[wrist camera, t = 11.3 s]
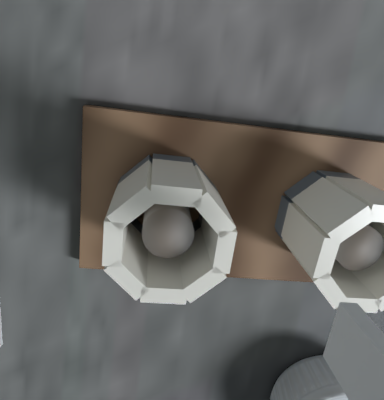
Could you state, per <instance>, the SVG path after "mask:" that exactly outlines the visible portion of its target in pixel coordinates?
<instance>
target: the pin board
mask: <svg viewBox="0 0 384 400" xmlns="http://www.w3.org/2000/svg"><path fill="white" fill-rule="evenodd" d="M153 153H154V154H163V155H172V156H182V157H190V158H191V160H195V161H196V163H197V164H198V165H199V166H200V168H201V169H202V170H203V171H204V173H205V174H206V175H207V176H208V178H209V179H210V180H211V181H212V183H213V184H214V185H215V187H216V188H217V190H218V192H219V194H220V196H221V198H222V200H223V202H224V204H225V206H226V208H227V210H228V212H229V214H230V216H231V218H232V220H233V222H234V224H235V226H236V230H237V237H236V242H235V247H234V253H233V258H232V263H231V268H230V273H229V274H226V277H236V278H252V279H268V280H284V281H300V282H313V281H312V279H311V278H310V276H309V275H308V274H307V272H306V271H305V270H304V268H303V267H302V266H301V264H300V263H299V262H298V260H297V259H296V258H295V256H294V255H293V254H292V252H291V251H290V250H289V248H288V247H287V246H286V244H285V243H284V242H283V240H282V239H281V238H280V236H279V235H278V234H277V232H276V231H275V230H276V229H275V227H274V226H275V222H276V218H277V214H278V209H279V205H280V201H281V196H282V195H283V196H286V195H285V193H284V192H285V191H286V190H288V189H289V188H291V187H292V186H293V185H295V184H296V183H297V182H299V181H300V180H302V179H303V178H304V177H306V176H307V175H308V174H310V173H311V172H313V171H314V172H317V170H322V171H331V172H340V173H349V174H352V175H353V176H355V177H357V178H359V179H361V180H363V181H365V182H367V183H369V184H371V185H373V186H374V187H376V188H378V189H380V190H382V191H384V142H383V141H375V140H367V139H359V138H351V137H343V136H335V135H327V134H318V133H310V132H302V131H294V130H286V129H278V128H270V127H262V126H254V125H246V124H238V123H230V122H222V121H214V120H206V119H198V118H189V117H181V116H173V115H165V114H157V113H149V112H141V111H133V110H125V109H117V108H109V107H101V106H93V105H84V106H83V126H82V171H81V215H80V259H79V268H91V269H104V267H105V266H102V252H103V230H104V220H105V217H106V214H107V212H108V209H109V206H110V203H111V201H112V198H113V195H114V192H115V190H116V187H117V184H118V181H119V180H120V178H121V177H122V176H123V175H124V174H126V173H127V172H128V171H129V170H131V169H132V168H133V167H134V166H136V165H137V164H138V163H139V162H141V161H142V160H143V159H144V158H146V157H147V156H148V155H150V156H151V157H152V158H153ZM136 219H137V220H138V221H139V222H140V223H141V224H142V225H143V229H142V239H143V243H144V245H145V247H146V248H147V249H148V250H149V251H150V252H151V253H152V254H154V255H156V256H159V257H162V258H173V257H177V256H179V255H181V254H183V253H184V252H186V251H187V250H188V249H189V248H190V246H191V245H192V243H193V240H194V228H193V224H192V223H193V222H194V221H196V220H197V219H199V212H198V210H197V209H196V208H195V207H185V206H173V205H162V204H154V205H153V206H151V207H150V208H149V209H147V210H146V211H145V212H143V213H142V214H141V215H140V216H138V217H137V218H136ZM383 249H384V240H383V237H382V235H381V234H380V233H379V232H378V231H376V230H375V229H374V228H372V227H371V226H369V225H366V226H365V227H363V228H362V229H361V230H359V231H358V232H356V233H355V234H353V235H352V236H350V237H349V238H347V239H346V240H344V241H343V242H341V243H340V245H339V248H338V252H337V255H336V258H335V259H336V260H337V261H338V262H339V263H340V264H341V265H342V266H343V267H344V268H346V269H348V270H352V271H359V270H364V269H366V268H368V267H370V266H372V265H373V264H374V263H375V262H377V260H378V259H379V258H380V256H381V255H382V252H383Z"/></svg>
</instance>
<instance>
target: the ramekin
mask: <svg viewBox="0 0 384 400" xmlns="http://www.w3.org/2000/svg"><path fill="white" fill-rule="evenodd" d="M270 400H349V399H348V398H347V396H346V394H345V393H344V391H343V389H342V387H341V386H340V384H339V382H338V381H337V379H336V377H335V376H334V374H333V372H332V370H331V369H330V367H329V365H328V364H327V362H326V360H325V359H324V357H323V355H318V356H313V357H308V358H305V359H302V360H300V361H298V362H296V363H294V364H293V365H291V366H290V367H288V368H287V369H286V370H285V371H284V372H283V373H282V374H281V375H280V376H279V378H278V379H277V381H276V383H275V385H274V387H273V389H272V392H271V396H270Z"/></svg>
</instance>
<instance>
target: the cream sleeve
mask: <svg viewBox="0 0 384 400" xmlns="http://www.w3.org/2000/svg"><path fill="white" fill-rule="evenodd" d="M154 204H162V205H173V206H185V207H195V208H196V209H197V210H198V212H199V219H197V220H196V221H194V222H193V223H192V224H193V228H194V240H193V243H192V245H191V246H190V248H189V249H188V250H187V251H186V252H184V253H183V254H181V255H179V256H177V257H173V258H162V257H159V256H156V255H154V254H152V253H151V252H150V251H149V250H148V249H147V248H146V247H145V245H144V243H143V239H142V229H143V225H142V224H141V223H140V222H139V221H138V220H137V219H136V218H137V217H138V216H140V215H141V214H142V213H143V212H145V211H146V210H147V209H149V208H150V207H151V206H153V205H154ZM236 237H237V230H236V226H235V224H234V222H233V220H232V218H231V216H230V214H229V212H228V210H227V208H226V206H225V204H224V202H223V200H222V198H221V196H220V194H219V192H218V190H217V188H216V187H215V185H214V184H213V183H212V181H211V180H210V179H209V178H208V176H207V175H206V174H205V173H204V171H203V170H202V169H201V168H200V166H199V165H198V164H197V163H196V161H195V160H191V158H190V157H182V156H172V155H163V154H154V153H153V158H152V157H151V156H150V155H148V156H147V157H146V158H144V159H143V160H142V161H141V162H139V163H138V164H137V165H136V166H134V167H133V168H132V169H131V170H129V171H128V172H127V173H126V174H124V175H123V176H122V177H121V178H120V180H119V181H118V184H117V187H116V190H115V192H114V195H113V198H112V201H111V203H110V206H109V209H108V212H107V214H106V217H105V220H104V230H103V252H102V266H105V267H104V271H105V272H106V273H107V274H108V275H109V276H110V277H111V278H112V279H113V280H115V281H116V282H117V283H118V284H119V285H120V286H121V287H122V288H123V289H124V290H125V291H126V292H127V293H128V294H129V295H130V296H131V297H133V298H134V299H135V300H137V299H139V298H140V297H141V298H140V302H143V303H164V304H184V305H186V300H188V301H189V302H190V303H191V302H193V301H194V300H196V299H197V298H199V297H200V296H201V295H203V294H204V293H206V292H207V291H209V290H210V289H211V288H213V287H214V286H216V285H217V284H219V283H220V282H221V281H223V280H224V279H226V278H227V277H226V274H229V273H230V268H231V263H232V258H233V253H234V247H235V242H236Z"/></svg>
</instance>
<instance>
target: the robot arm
mask: <svg viewBox="0 0 384 400" xmlns="http://www.w3.org/2000/svg"><path fill="white" fill-rule="evenodd" d="M2 344H3V342H2V326H1V309H0V347H1V345H2ZM323 357H324V359H325V360H326V362H327V364H328V365H329V367H330V369H331V370H332V372H333V374H334V376H335V377H336V379H337V381H338V382H339V384H340V386H341V387H342V389H343V391H344V393H345V394H346V396H347V398H348V399H349V400H384V333H383V332H382V331H381V330H380V328H379V327H378V326H377V325H376V324H375V323H374V322H373V320H372V319H371V318H370V317H369V316H368V315H367V314H366V313H365V311H364V310H363V309H362V308H361V307H360V306H359V305H358V303H348V302H340V303H339V306H338V309H337V312H336V315H335V319H334V322H333V325H332V328H331V331H330V334H329V337H328V341H327V344H326V347H325V350H324V353H323Z"/></svg>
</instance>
